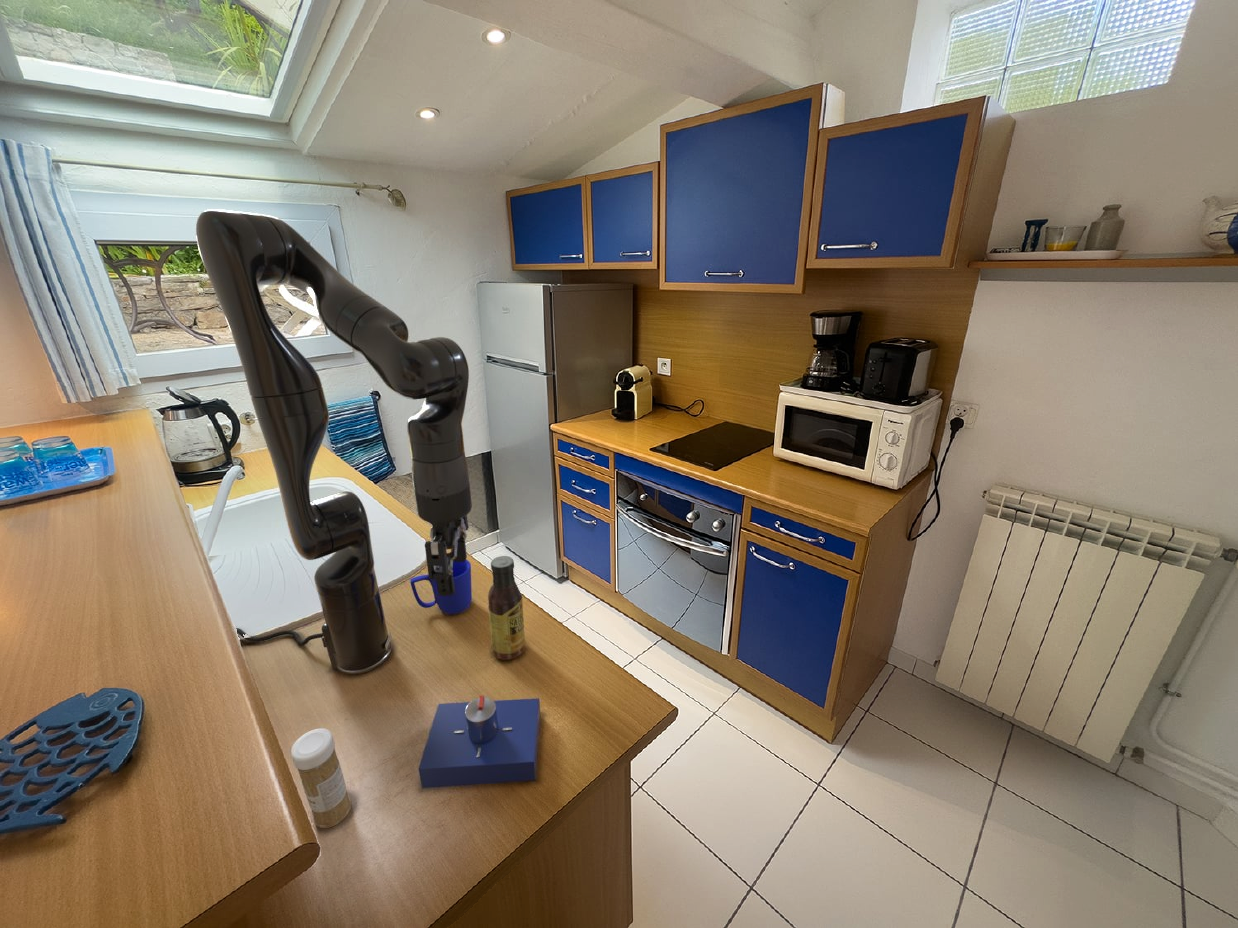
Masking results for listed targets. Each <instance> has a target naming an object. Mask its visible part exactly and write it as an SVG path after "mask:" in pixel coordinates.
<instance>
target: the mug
mask: <svg viewBox="0 0 1238 928" xmlns="http://www.w3.org/2000/svg"><path fill="white" fill-rule="evenodd" d="M439 567H442V566H439ZM452 569H453V580H454V588H455V591H454V594H453V595H451V596H441V595H439V594H438V588H437V581H436V580H429V577H428V574H421V575H418V576H414V577H412V578H411V579H409V583H410V586H411V587H410V588H411V590H412V593H413V596H414V599H415V601H416V602H417V604H418V605H419V606H420V607H422V608H424V609H429V608H433V607H434V606H436V605H437V606H438V608H439V610H440V611H441V613H443V614H446V615H452V616H453V615H458V614H461V613H463V612H465V611H466V610H468V609H469V607H470V606H471V604H472V599H473V597H472V596H473V595H472V592H473V591H472V564H471V562H470V561H469V560H468V559H467V558H466V561H464V562H454V561H453V568H452ZM422 581H428V582H429V583H430V586H431V588H432V593H433V597H434V601H431V602H425V601H422V600H421V598H420V596H419V593H418V591H417V588H416V584H415V583H418V582H422Z"/></svg>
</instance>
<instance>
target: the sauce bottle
mask: <svg viewBox="0 0 1238 928" xmlns="http://www.w3.org/2000/svg"><path fill="white" fill-rule="evenodd" d="M514 568H515V560H514V559H513V558H512V557H511V556H508V555H500V556H496V557H494V558H493V559H492V560H491V562H490V570H491V572H492V585H491V586H490V588H489V590H488V595H487V601H488V607H487V609H488V619H489V631H490V642H491V648H492V651H493V652H492V653H493V655H494V656H495V657H496V658H497V659H499V660H503V661H510V660H513V659H516V658H517V657H519V656H520V655H522V654H523V652H524V650H525V643H526V636H525V635H526V634H525V633H526V632H525V618H524V602H523V594H522V593H521V590H520V588H519V587H518V584H517V582H516V580H515V579H516V578H515V573H514Z"/></svg>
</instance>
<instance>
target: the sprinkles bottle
mask: <svg viewBox="0 0 1238 928" xmlns="http://www.w3.org/2000/svg"><path fill="white" fill-rule="evenodd" d="M335 744H336V742H335V739H334V736H333V733H332V732H331V731H330V730H328V729H327V728H322V727H321V728H315V729H312V730H309V731H307V732H305V733H303V734H302V735H301V736H300V737H299V738H297V739H296V741H295V742H294V743H293V744H292V746H291V748H290V749H291V750H290V757H291V761H292V763H293V765H294V767H295V768H296V769H297V771H298V774H299V777H300V780H301V784H302V787H303V790H304V793H305V797H306V800H307V802H308V806H309V807H310V810H311V813H312V816H313V823H314V824H315V825H316V827H318V828H321V829H329V828H332V827H334V826H337V825H338V824H339V823H341V822H342V821H343V820H344V819H345V818H346V817H347V816H348V814H349V813H350V810H351V807H352V800H351V797H350V796H349V794H348V790H347V784H346V780H345V777H344V774H343V770H342V767H341V764H340V760H339V759H338V755H337V752H336V747H335V746H336V745H335Z"/></svg>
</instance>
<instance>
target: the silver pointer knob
mask: <svg viewBox="0 0 1238 928" xmlns="http://www.w3.org/2000/svg"><path fill="white" fill-rule="evenodd" d="M494 701H495V700H493V699H492V698H490V697H487V696H485V695H480V696H479V697H477V698H474V699H472V700H471V701H469V702H470V703H469V704H468V706H467V707H466V710H465V717H466V723H467V730H468V736H469V739H470V740H471V741H472V742H474V743H477V744H482V743H486V742H488V741H490V740H492V739H493V738H494V737H495V735H496V734H497V732H498V720H497V712H496V704H495V702H494Z"/></svg>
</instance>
